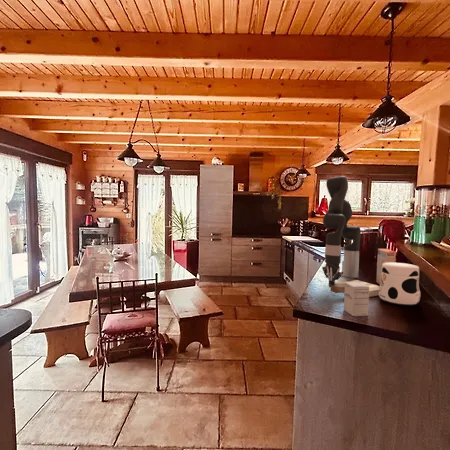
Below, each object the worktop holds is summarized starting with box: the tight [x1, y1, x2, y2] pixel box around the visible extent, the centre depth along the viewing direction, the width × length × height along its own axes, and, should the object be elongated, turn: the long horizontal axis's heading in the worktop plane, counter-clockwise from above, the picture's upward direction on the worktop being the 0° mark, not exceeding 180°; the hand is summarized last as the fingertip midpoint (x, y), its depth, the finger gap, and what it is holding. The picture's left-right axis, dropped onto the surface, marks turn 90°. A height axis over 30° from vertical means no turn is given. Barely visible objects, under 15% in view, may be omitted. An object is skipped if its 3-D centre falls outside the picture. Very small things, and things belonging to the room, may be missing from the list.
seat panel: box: [335, 279, 380, 298], centre depth 163 cm, size 19×18×3 cm
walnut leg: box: [330, 284, 345, 294], centre depth 151 cm, size 16×4×3 cm, turn 108°
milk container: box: [378, 262, 422, 307], centre depth 143 cm, size 17×17×18 cm
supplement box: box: [343, 281, 370, 317], centre depth 128 cm, size 7×7×13 cm
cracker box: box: [375, 248, 397, 286], centre depth 175 cm, size 14×6×21 cm, turn 168°
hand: (331, 287), depth 152 cm, fingers closed
